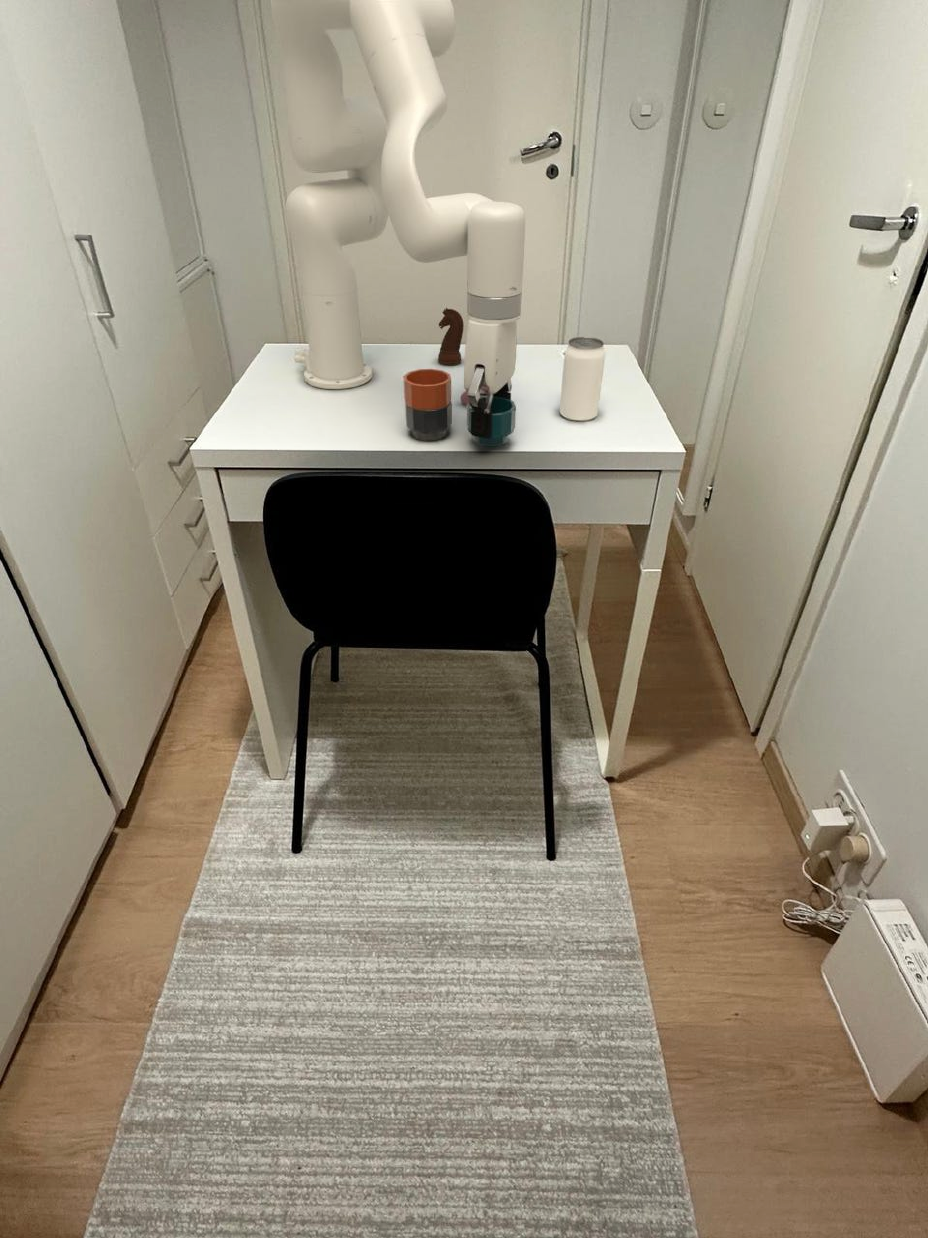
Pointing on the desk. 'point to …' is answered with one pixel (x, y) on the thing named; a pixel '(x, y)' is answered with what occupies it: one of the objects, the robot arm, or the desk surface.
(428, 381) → the middle bowl
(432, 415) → the bottom bowl
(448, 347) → the chess piece
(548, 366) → the desk surface
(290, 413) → the desk surface
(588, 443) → the desk surface
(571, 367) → the can
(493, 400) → the top bowl
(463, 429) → the desk surface
